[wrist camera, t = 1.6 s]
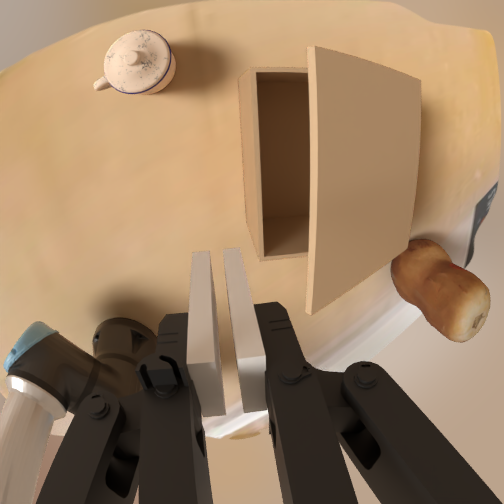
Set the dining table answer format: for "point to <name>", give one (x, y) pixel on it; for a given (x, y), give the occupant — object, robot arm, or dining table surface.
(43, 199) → the dining table surface
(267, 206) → the carton
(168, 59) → the teacup with lid
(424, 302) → the butternut squash
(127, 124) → the dining table surface
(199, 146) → the dining table surface
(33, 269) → the dining table surface
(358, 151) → the carton lid
